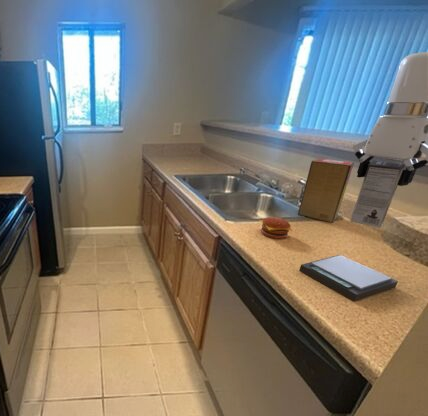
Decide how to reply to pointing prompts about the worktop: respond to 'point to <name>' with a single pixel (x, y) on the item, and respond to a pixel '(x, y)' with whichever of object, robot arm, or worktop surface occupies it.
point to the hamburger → (275, 227)
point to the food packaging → (325, 189)
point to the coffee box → (377, 192)
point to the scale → (348, 277)
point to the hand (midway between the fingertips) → (381, 180)
